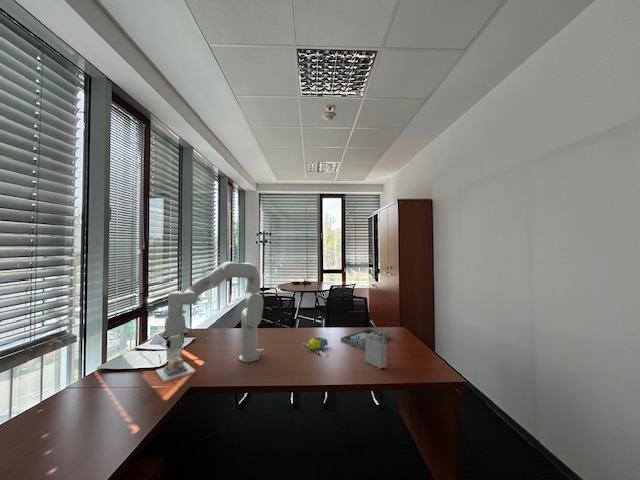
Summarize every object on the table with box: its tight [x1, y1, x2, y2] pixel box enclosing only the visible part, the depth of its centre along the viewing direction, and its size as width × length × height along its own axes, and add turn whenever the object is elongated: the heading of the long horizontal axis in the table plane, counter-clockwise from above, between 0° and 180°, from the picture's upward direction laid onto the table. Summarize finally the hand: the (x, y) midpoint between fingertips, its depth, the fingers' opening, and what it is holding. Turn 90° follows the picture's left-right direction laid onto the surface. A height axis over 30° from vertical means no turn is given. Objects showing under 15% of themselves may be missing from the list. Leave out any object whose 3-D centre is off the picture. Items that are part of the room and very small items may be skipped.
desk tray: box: [340, 327, 392, 350], centre depth 212 cm, size 33×21×3 cm, turn 133°
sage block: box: [168, 334, 184, 351], centre depth 160 cm, size 6×6×6 cm
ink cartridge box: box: [165, 334, 183, 361], centre depth 177 cm, size 9×5×15 cm, turn 168°
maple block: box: [167, 357, 184, 373], centre depth 160 cm, size 6×6×6 cm
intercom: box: [349, 330, 382, 345], centre depth 216 cm, size 13×4×25 cm
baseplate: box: [155, 361, 196, 383], centre depth 160 cm, size 16×16×2 cm
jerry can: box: [364, 326, 390, 368], centre depth 169 cm, size 15×5×25 cm, turn 35°
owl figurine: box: [302, 336, 328, 355], centre depth 195 cm, size 28×9×15 cm
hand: (175, 345), depth 160 cm, fingers closed on sage block, 6 cm apart
